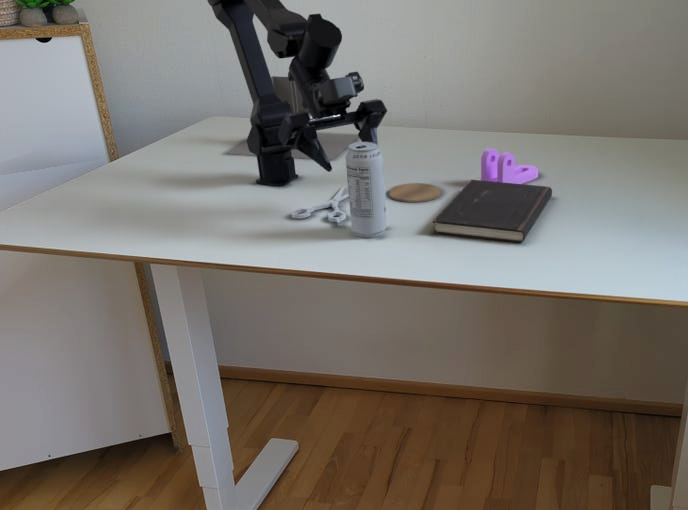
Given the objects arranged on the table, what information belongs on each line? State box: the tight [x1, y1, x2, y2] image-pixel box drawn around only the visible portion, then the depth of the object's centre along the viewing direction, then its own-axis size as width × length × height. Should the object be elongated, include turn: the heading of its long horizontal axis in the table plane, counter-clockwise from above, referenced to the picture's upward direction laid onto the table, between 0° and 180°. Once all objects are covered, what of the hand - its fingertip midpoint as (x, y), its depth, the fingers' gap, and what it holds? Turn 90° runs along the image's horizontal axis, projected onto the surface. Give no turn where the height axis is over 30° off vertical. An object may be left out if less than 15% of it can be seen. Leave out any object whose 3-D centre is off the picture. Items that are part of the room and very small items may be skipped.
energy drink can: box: [345, 141, 388, 239], centre depth 133 cm, size 6×6×15 cm
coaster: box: [388, 182, 441, 203], centre depth 154 cm, size 10×10×1 cm
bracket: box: [480, 147, 539, 184], centre depth 159 cm, size 13×6×7 cm, turn 137°
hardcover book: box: [432, 179, 553, 244], centre depth 143 cm, size 16×23×2 cm
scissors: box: [290, 184, 349, 227], centre depth 149 cm, size 11×1×20 cm
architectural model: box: [226, 75, 359, 161], centre depth 180 cm, size 20×25×15 cm
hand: (354, 165), depth 134 cm, fingers open, 9 cm apart
